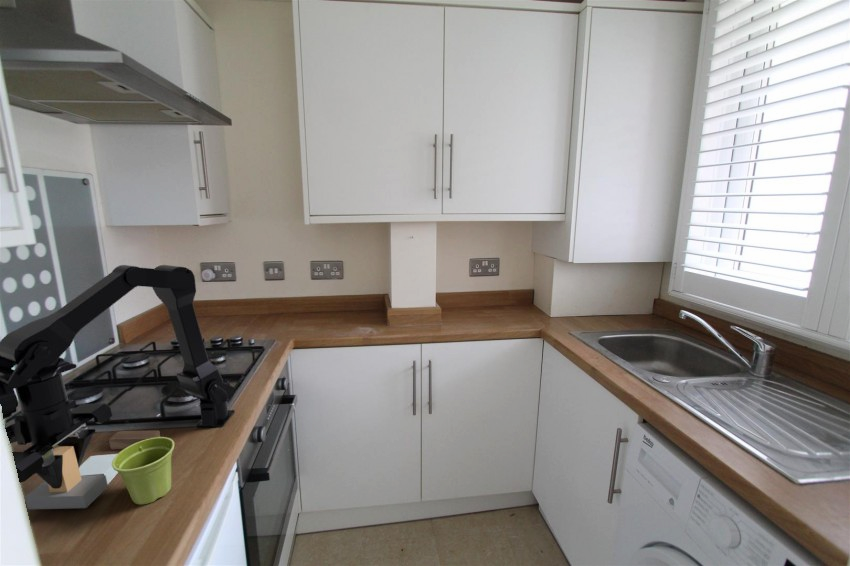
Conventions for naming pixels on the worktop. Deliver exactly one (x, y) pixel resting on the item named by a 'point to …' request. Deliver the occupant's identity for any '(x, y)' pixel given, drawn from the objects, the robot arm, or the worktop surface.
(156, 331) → the worktop surface
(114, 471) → the tile
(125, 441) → the stop bar
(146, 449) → the plant pot
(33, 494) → the tan block grey base
